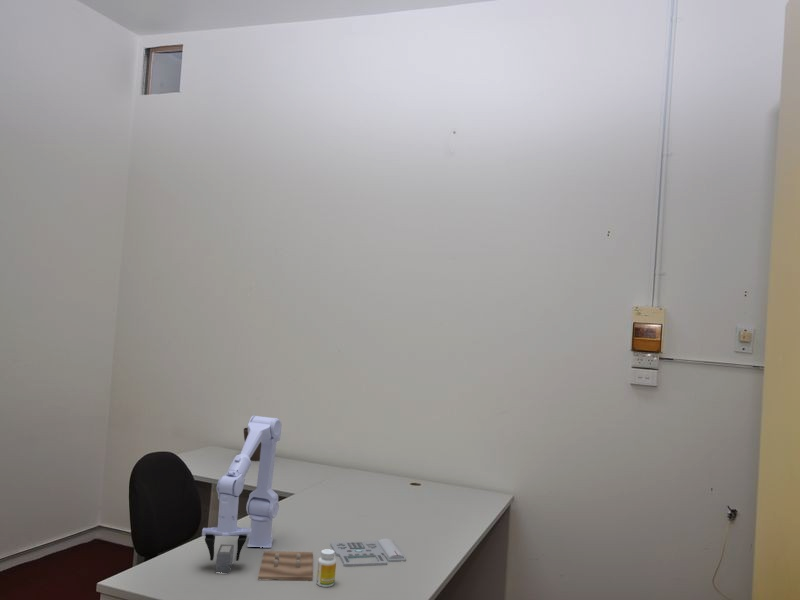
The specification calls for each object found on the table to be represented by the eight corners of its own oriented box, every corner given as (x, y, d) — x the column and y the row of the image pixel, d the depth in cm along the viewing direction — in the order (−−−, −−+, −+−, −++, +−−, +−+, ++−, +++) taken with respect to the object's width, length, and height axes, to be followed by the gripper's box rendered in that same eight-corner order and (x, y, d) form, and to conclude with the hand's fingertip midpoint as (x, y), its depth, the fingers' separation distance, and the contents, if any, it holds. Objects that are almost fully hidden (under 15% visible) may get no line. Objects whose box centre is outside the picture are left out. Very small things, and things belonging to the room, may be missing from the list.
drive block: (219, 563, 198) (220, 544, 198) (232, 563, 198) (233, 544, 199) (215, 574, 190) (216, 553, 190) (229, 574, 190) (230, 554, 191)
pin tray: (263, 554, 208) (264, 545, 208) (312, 554, 210) (313, 545, 210) (258, 579, 188) (258, 569, 188) (312, 580, 190) (312, 570, 190)
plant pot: (235, 460, 331) (238, 429, 331) (251, 454, 345) (253, 425, 345) (260, 464, 326) (262, 433, 326) (275, 458, 340) (277, 428, 341)
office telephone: (394, 536, 227) (410, 557, 208) (393, 543, 227) (410, 565, 208) (330, 538, 220) (341, 560, 201) (329, 545, 220) (340, 568, 201)
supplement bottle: (312, 582, 188) (315, 550, 188) (326, 578, 192) (328, 546, 192) (324, 589, 184) (326, 556, 185) (338, 584, 188) (340, 552, 189)
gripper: (201, 518, 190) (198, 564, 189) (250, 519, 192) (247, 565, 191) (205, 511, 197) (202, 555, 196) (252, 512, 199) (249, 556, 198)
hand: (224, 559), depth 194 cm, fingers open, 7 cm apart
